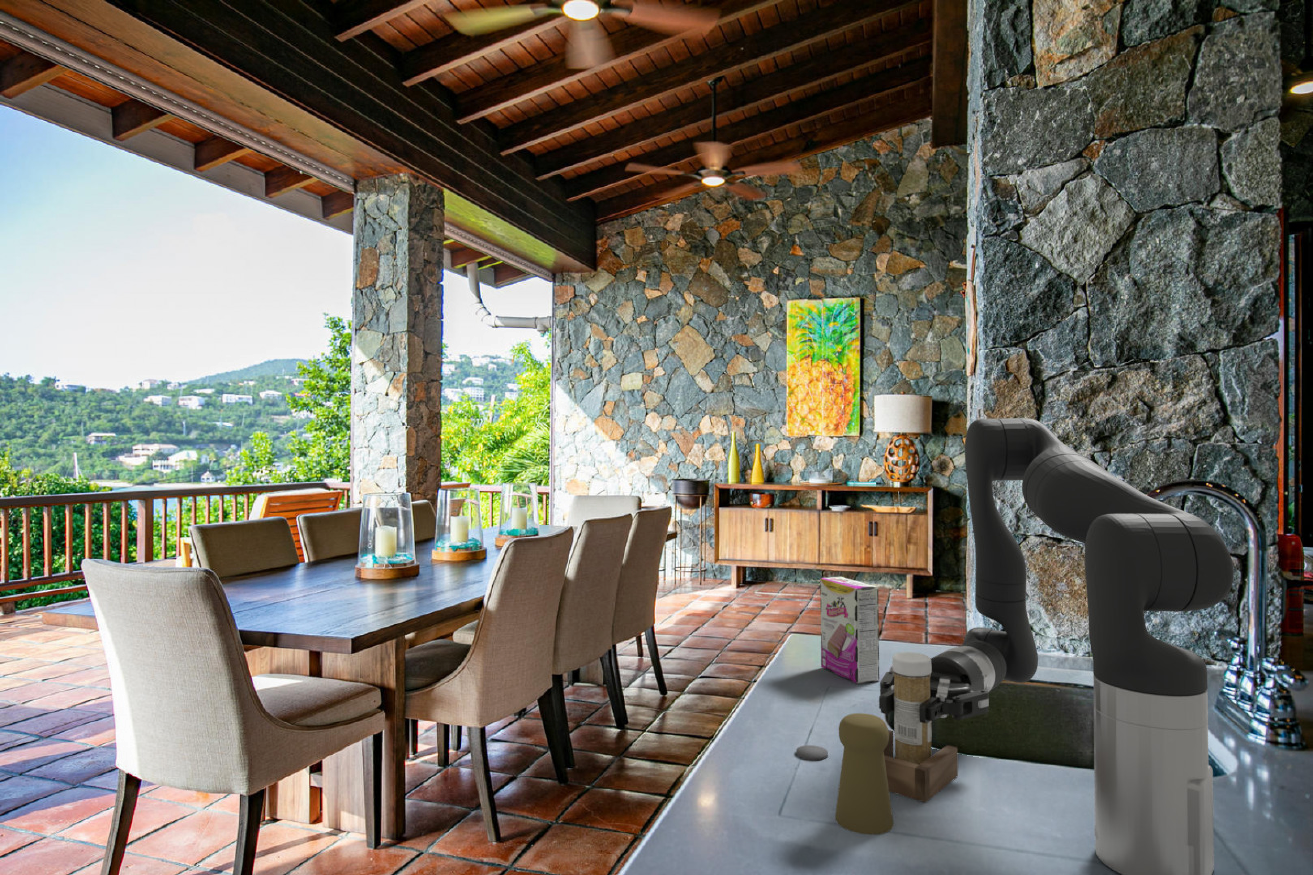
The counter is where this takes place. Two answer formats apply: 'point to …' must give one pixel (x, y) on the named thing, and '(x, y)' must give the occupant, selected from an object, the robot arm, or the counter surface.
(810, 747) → the disc
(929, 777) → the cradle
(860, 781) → the cork
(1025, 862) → the counter surface
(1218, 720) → the counter surface
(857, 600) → the candy bar box
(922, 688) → the spice jar
